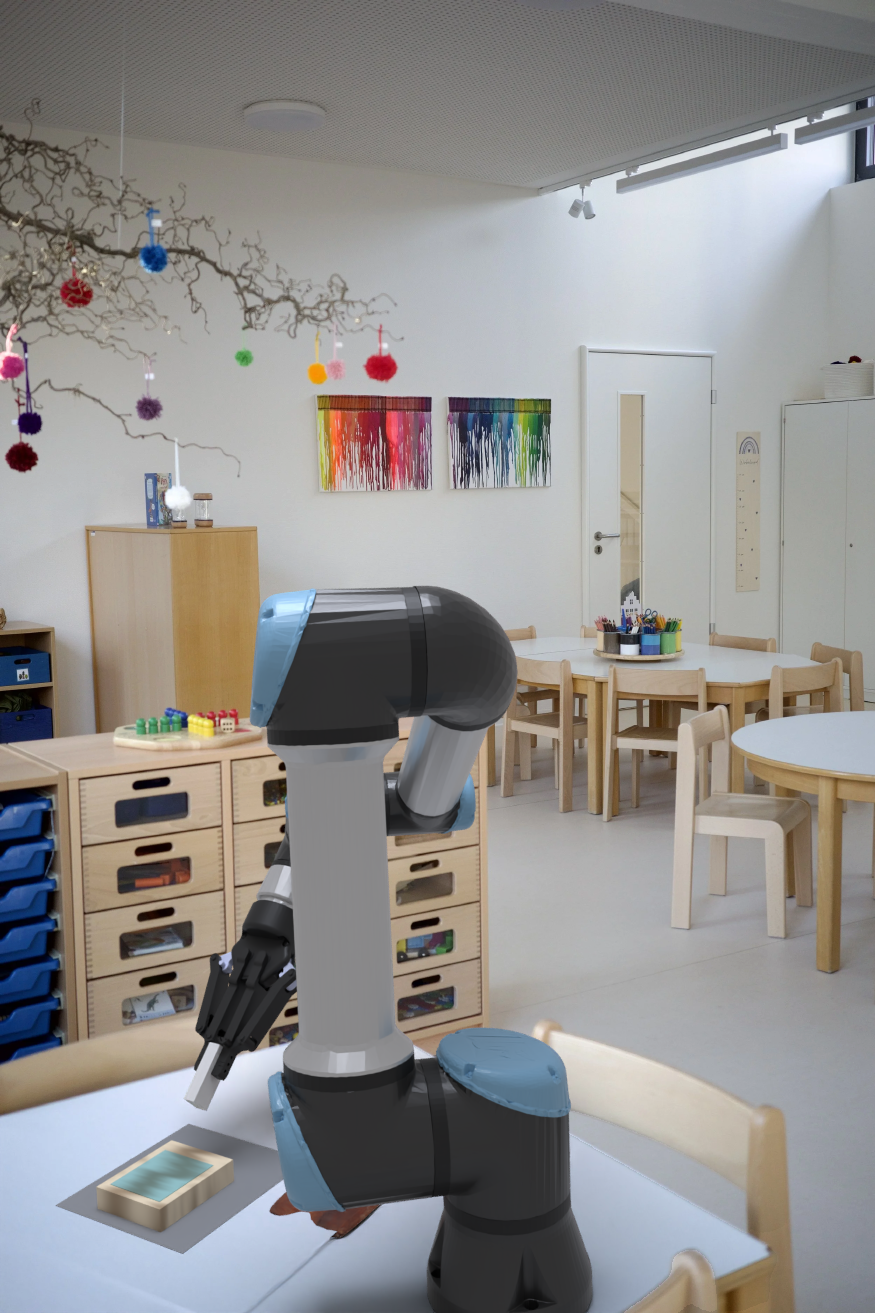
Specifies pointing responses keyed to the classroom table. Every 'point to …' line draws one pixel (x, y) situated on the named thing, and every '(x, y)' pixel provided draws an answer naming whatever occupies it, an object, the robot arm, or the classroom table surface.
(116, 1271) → the classroom table surface
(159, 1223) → the beech board
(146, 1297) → the classroom table surface
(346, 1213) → the wooden tablet
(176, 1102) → the classroom table surface
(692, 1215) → the classroom table surface
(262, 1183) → the grey mat
